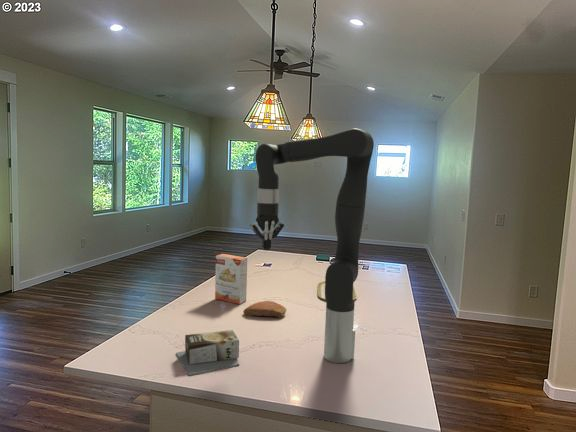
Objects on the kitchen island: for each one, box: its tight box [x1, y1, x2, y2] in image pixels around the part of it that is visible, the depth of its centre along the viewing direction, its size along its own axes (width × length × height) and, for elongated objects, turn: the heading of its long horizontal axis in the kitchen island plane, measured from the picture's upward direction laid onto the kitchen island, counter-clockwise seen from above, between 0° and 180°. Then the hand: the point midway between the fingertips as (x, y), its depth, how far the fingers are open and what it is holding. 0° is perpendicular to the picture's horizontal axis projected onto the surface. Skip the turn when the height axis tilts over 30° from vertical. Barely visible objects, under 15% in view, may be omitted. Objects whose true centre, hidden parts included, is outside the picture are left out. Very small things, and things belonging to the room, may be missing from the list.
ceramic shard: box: [243, 300, 287, 319], centre depth 179 cm, size 15×6×15 cm
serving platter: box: [317, 280, 357, 302], centre depth 214 cm, size 19×35×2 cm, turn 176°
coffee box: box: [184, 329, 240, 365], centre depth 138 cm, size 9×6×16 cm
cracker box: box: [214, 253, 248, 305], centre depth 194 cm, size 14×6×21 cm, turn 62°
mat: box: [175, 350, 240, 377], centre depth 136 cm, size 16×16×1 cm
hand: (266, 249), depth 150 cm, fingers closed
